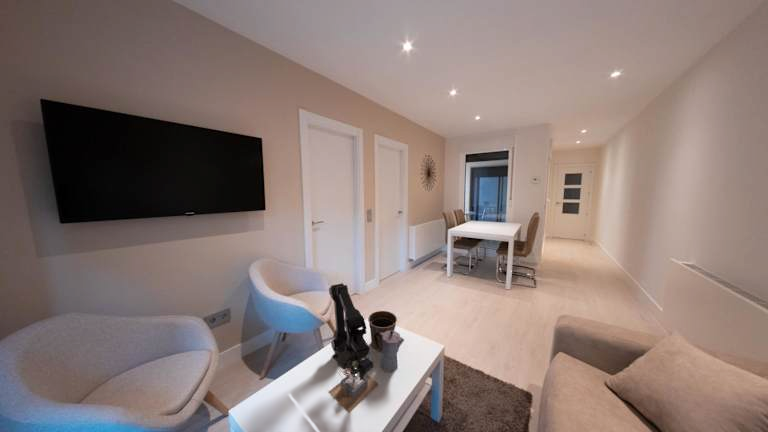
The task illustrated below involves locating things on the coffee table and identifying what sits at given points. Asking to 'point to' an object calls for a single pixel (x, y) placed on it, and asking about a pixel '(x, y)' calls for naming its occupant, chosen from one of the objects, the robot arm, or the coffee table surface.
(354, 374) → the plunger
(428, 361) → the coffee table surface
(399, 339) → the moka pot
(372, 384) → the board
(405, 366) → the coffee table surface
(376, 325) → the plant pot
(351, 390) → the press
